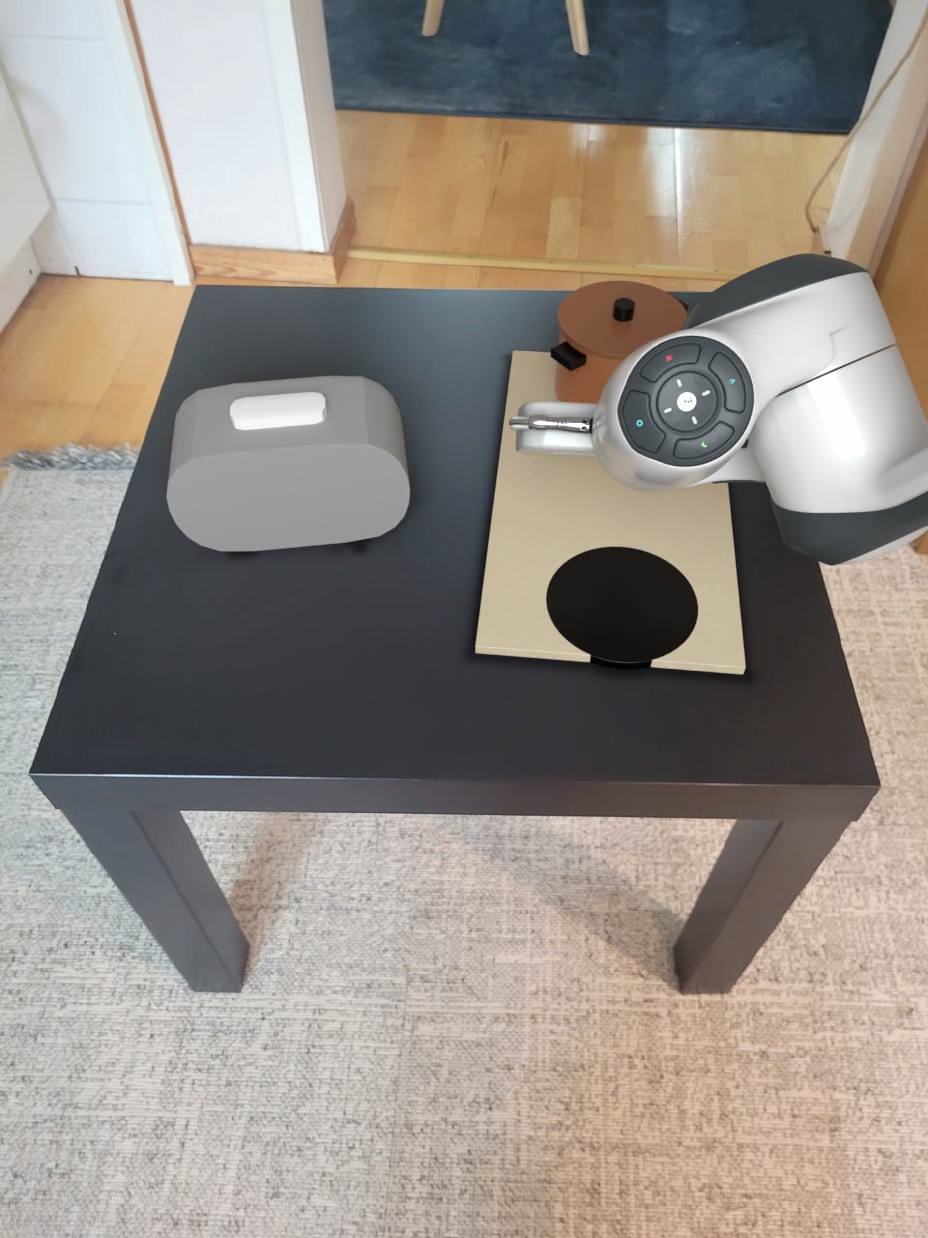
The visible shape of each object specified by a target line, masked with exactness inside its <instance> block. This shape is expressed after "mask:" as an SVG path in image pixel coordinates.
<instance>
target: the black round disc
mask: <svg viewBox="0 0 928 1238" xmlns="http://www.w3.org/2000/svg"><path fill="white" fill-rule="evenodd" d="M546 605H547V610H548V614H549V616H550V619H551V621H552V623H553V624H554V626H555V628H556V629H557V630H558V632H559V633H560V634H561V635H562V636H563V637H564V638H565V639H566V640H567V641H568V642H570V643H571V644H572V645H573V646H575V647H577V648H578V649H580V650H581V651H583V652H585V653H588V654H590V655H591V657H590V662H589V663H591V664H592V665H593V664H594V665H597V666H599V667H604V668H607V669H612V670H613V669H614V670H621V671H622V670H625V671H626V670H627V671H631V670H632V671H633V670H642V669H648V668H652V667H651V664H652V660H654V659H657V658H660V657H663V656H665V655H667V654H669V653H671V652H673V651H674V650H676V649H677V648H679V647H680V646H681V645H682V644H683V643H684V642H685V641H686V640H687V639H688V638H689V637H690V635H691V633H692V632H693V630H694V628H695V625H696V623H697V618H698V602H697V598H696V594H695V592H694V590H693V588H692V586H691V584H690V583H689V581H688V580H687V578H686V577H685V576H684V575H683V574H682V573H681V572H680V571H679V570H678V569H677V568H676V567H675V566H673V565H672V564H671V563H669V562H668V561H666V560H664V559H663V558H661V557H659V556H657V555H654V554H652V553H649V552H646V551H643V550H640V549H635V548H629V547H615V546H612V547H601V548H595V549H591V550H588V551H585V552H582V553H580V554H577V555H576V556H574V557H572V558H570V559H569V560H567V561H566V562H565V563H563V564H562V565H561V566H560V567H559V568H558V569H557V571H556V572H555V573H554V575H553V576H552V578H551V580H550V582H549V585H548V588H547V594H546Z"/></svg>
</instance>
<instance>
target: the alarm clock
mask: <svg viewBox="0 0 928 1238" xmlns="http://www.w3.org/2000/svg"><path fill="white" fill-rule="evenodd" d="M172 435H173V436H172V437H173V438H172V443H171V454H170V462H169V471H168V477H167V478H168V479H167V490H166V501H167V506H168V511H169V513H170V515H171V517H172V519H173V521H174V523H175V525H176V526H177V527H178V529H180V531H181V532H182V533H183V534H184V535H185V536H186V538H188V539H189V540H191V541H193V542H194V543H196V544H197V545H199V546H201V547H205V548H208V549H212V550H215V551H217V552H259V551H273V550H281V549H292V548H303V547H304V548H305V547H312V546H313V547H314V546H324V545H334V544H345V543H346V544H347V543H351V542H357V541H361V540H367V539H373V538H378V537H381V536H383V535H384V534H386V533H388V532H390V531H391V530H393V529H395V528H396V527H397V526H398V525H399V524H400V522H401V521H402V520H403V519H404V517H405V516H406V513H407V510H408V508H409V505H410V499H411V498H410V497H411V485H410V478H409V468H408V462H407V461H408V460H407V453H406V445H405V444H406V443H405V437H404V436H405V435H404V427H403V421H402V415H401V412H400V408H399V406H398V404H397V402H396V401H395V399H394V397H393V395H392V393H390V391H388V389H386V388H385V387H384V386H383V385H382V384H381V383H379V382H377V381H374V380H372V379H370V378H367V377H365V376H363V375H320V376H307V377H296V378H283V379H270V380H261V381H258V380H257V381H250V382H249V381H246V382H236V383H235V382H233V383H228V384H223V385H217V386H212V387H207V388H201V389H198V390H196V391H195V392H193V393H192V394H190V395H189V396H187V398H185V399H184V400H183V401H182V403H181V404H180V407H178V410H177V411H176V413H175V419H174V428H173V434H172Z"/></svg>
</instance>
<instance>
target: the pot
mask: <svg viewBox="0 0 928 1238" xmlns="http://www.w3.org/2000/svg"><path fill="white" fill-rule="evenodd" d="M689 307H690V306H689V304H688V303H687V302H685V301H683V300H681V299H680V298H678V297H677V296H675V295H673V294H671V293H670V292H667V291H665V290H664V289H661V288H659V287H656V286H653V285H650V284H647V283H644V282H639V281H631V280H605V281H604V280H603V281H598V282H592V283H589V284H586V285H584V286H580V287H579V288H577V289H574V290H573V291H572V292H571V293H569V294H568V295H567V296H565V297H564V298H563V300H562V301H561V303H560V305H559V307H558V310H557V326H558V328H559V331H558V332H559V334H558V344H557V345H555V346H552V347H551V348H550V352H551V356H550V357H551V358H553V359H554V360H555V361H557V370H556V383H555V389H556V394H557V396H558V398H559V400H560V402H577V403H595V404H598V401H599V399H600V397H601V394H602V392H603V389H604V387H605V385H606V383H607V381H608V379H609V378H610V376H611V375H612V373H613V372H614V370H615V369H616V368H617V367H618V365H619V364H620V363H621V362H622V361H623V360H624V359H625V358H626V357H628V356H629V355H630V354H631V353H633V352H634V351H635V350H637V349H638V348H640V347H641V346H643V345H645V344H647V343H649V342H650V341H653V340H655V339H657V338H660V337H662V336H665V335H668V334H671V333H674V332H677V331H680V330H681V328H682V326H683V324H684V322H685V321H686V319H687V317H688V316H689V314H688V312H689V311H688V310H689Z"/></svg>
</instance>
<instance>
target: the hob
mask: <svg viewBox="0 0 928 1238" xmlns="http://www.w3.org/2000/svg"><path fill="white" fill-rule="evenodd" d="M550 356H551V351H550V352H549V351H546V352H545V351H533V350H531V351H530V350H515V349H514V350H512V355H511V361H510V362H511V365H510V371H509V378H508V379H509V380H508V387H507V394H506V403H505V409H504V418H503V425H502V434H501V442H500V450H499V456H498V457H499V458H498V465H497V473H496V480H495V489H494V496H493V504H492V511H491V512H492V513H491V519H490V520H491V521H490V527H489V528H490V529H489V535H488V543H487V552H486V558H485V559H486V560H485V567H484V576H483V582H482V583H483V584H482V593H481V597H480V598H481V599H480V607H479V615H478V621H477V629H476V637H475V638H476V639H475V644H474V645H475V647H474V648H475V649H474V650H475V654H482V655H495V656H506V657H520V658H530V659H531V658H533V659H546V660H557V661H569V662H580V663H581V662H582V663H591V662H590V657H591V655H590V654H588V653H585V652H583V651H581V650H580V649H578V648H577V647H575V646H573V645H572V644H571V643H570V642H568V641H567V640H566V639H565V638H564V637H563V636H562V635H561V634H560V633H559V632H558V630H557V629H556V628H555V626H554V624H553V623H552V621H551V619H550V616H549V614H548V610H547V605H546V594H547V588H548V585H549V582H550V580H551V578H552V576H553V575H554V573H555V572H556V571H557V569H558V568H559V567H560V566H561V565H562V564H563V563H565V562H566V561H567V560H569V559H570V558H572V557H574V556H576V555H577V554H580V553H582V552H585V551H588V550H591V549H595V548H601V547H612V546H615V547H629V548H635V549H640V550H643V551H646V552H649V553H652V554H654V555H657V556H659V557H661V558H663V559H664V560H666V561H668V562H669V563H671V564H672V565H673V566H675V567H676V568H677V569H678V570H679V571H680V572H681V573H682V574H683V575H684V576H685V577H686V578H687V580H688V581H689V583H690V584H691V586H692V588H693V590H694V592H695V594H696V598H697V602H698V618H697V623H696V625H695V628H694V630H693V632H692V633H691V635H690V637H689V638H688V639H687V640H686V641H685V642H684V643H683V644H682V645H681V646H680V647H679V648H677V649H676V650H674V651H673V652H671V653H669V654H667V655H665V656H663V657H660V658H657V659H654V660H652V664H651V667H650V668H658V669H671V670H683V671H695V672H706V673H720V674H733V675H744V673H745V670H746V667H747V666H746V656H745V655H746V654H745V646H744V645H745V643H744V636H743V634H744V633H743V624H742V615H741V614H742V613H741V605H740V603H741V602H740V594H739V593H740V592H739V585H738V573H737V572H738V571H737V563H736V552H735V543H734V532H733V523H732V512H731V502H730V489H729V483H717V484H713V483H705V484H700V485H696V486H693V487H690V488H686V489H679V488H676V489H672V490H667V491H662V492H653V493H651V492H640V491H636V490H632V489H630V488H627V487H625V486H623V485H621V484H619V483H618V482H616V481H615V480H614V479H612V478H611V477H610V476H609V475H608V474H607V473H606V472H605V470H604V469H603V468H602V466H601V465H600V463H599V461H598V460H597V459H586V458H571V457H555V456H539V455H527V454H522V453H518V452H517V451H516V449H515V446H516V431H513V430H511V429H510V425H509V421H510V418H511V417H518V410H519V408H520V407H521V406H522V405H523V404H525V403H527V402H533V401H560V400H559V398H558V396H557V394H556V389H555V383H556V370H557V361H555V360H554V359H553V358H551V357H550Z"/></svg>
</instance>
